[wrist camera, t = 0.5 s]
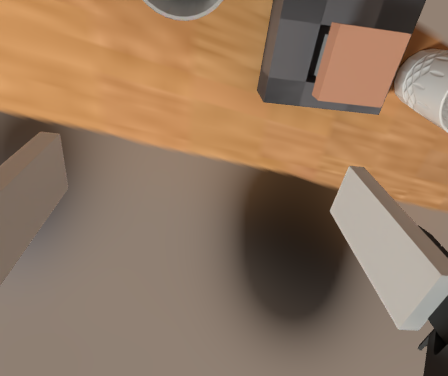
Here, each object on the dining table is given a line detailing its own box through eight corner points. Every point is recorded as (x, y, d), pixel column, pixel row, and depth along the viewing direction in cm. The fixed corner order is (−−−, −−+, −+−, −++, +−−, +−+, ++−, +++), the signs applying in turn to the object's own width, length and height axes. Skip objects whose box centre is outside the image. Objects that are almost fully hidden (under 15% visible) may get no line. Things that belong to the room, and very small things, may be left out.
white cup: (462, 75, 38) (534, 97, 30) (406, 119, 41) (458, 150, 33) (434, 28, 35) (507, 38, 27) (377, 79, 38) (426, 102, 30)
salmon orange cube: (317, 19, 30) (340, 23, 25) (377, 27, 30) (411, 34, 25) (300, 84, 33) (318, 100, 28) (354, 91, 34) (381, 107, 29)
